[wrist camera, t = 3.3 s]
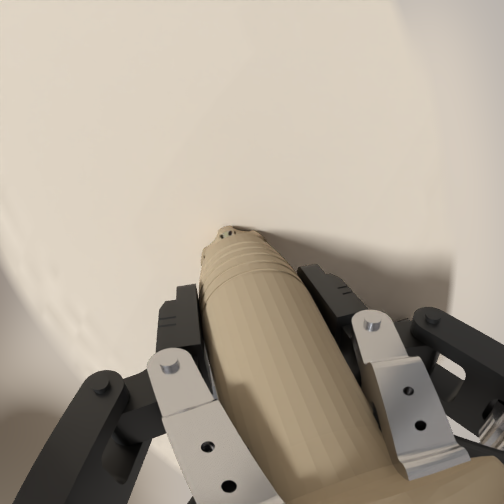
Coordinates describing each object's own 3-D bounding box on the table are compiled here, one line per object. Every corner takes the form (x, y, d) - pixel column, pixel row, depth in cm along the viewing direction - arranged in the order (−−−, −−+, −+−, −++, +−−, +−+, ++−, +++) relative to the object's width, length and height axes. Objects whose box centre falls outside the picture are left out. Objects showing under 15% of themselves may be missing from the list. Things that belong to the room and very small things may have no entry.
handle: (156, 233, 15) (129, 626, 1) (280, 188, 15) (567, 457, 1) (192, 310, 17) (241, 612, 3) (302, 269, 17) (475, 521, 4)
